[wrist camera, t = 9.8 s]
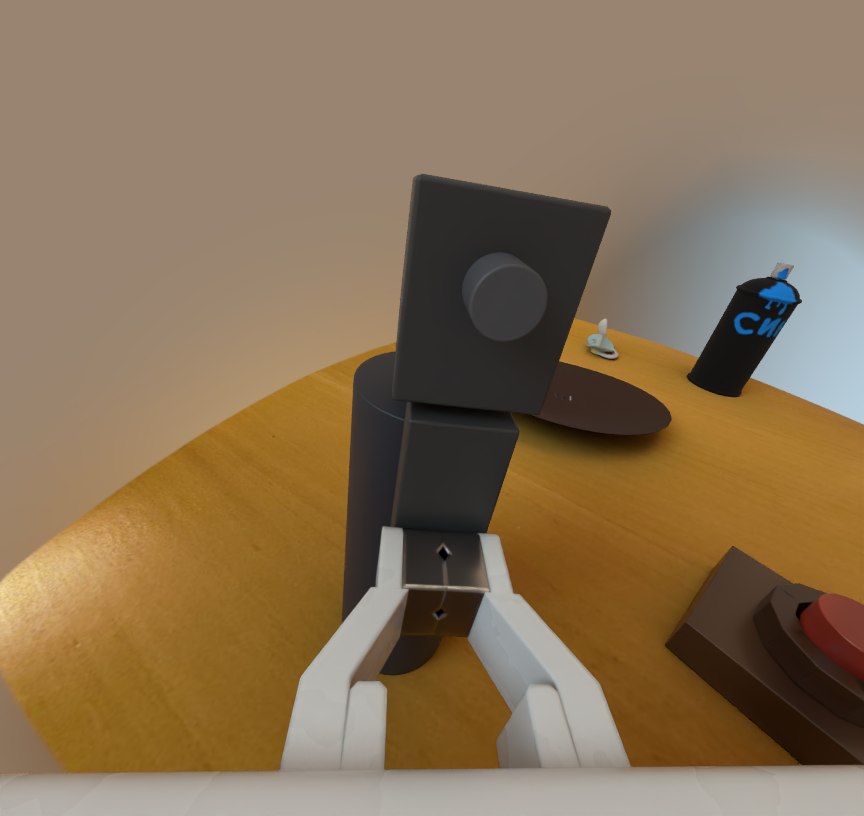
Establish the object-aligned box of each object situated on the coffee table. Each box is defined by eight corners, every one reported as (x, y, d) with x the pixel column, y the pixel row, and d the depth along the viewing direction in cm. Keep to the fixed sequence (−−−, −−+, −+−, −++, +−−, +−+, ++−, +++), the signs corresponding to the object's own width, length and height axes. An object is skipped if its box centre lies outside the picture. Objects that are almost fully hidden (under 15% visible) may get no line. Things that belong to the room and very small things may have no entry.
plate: (629, 376, 62) (638, 356, 60) (697, 489, 38) (717, 461, 36) (464, 340, 65) (468, 320, 63) (431, 424, 41) (436, 395, 39)
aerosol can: (679, 370, 68) (741, 255, 58) (726, 380, 68) (797, 265, 58) (698, 390, 61) (773, 263, 51) (750, 401, 61) (837, 274, 51)
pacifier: (616, 352, 73) (585, 342, 74) (631, 321, 69) (598, 312, 71) (617, 364, 67) (583, 354, 68) (633, 331, 63) (597, 321, 65)
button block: (934, 718, 22) (1005, 682, 20) (945, 888, 16) (1048, 864, 14) (713, 567, 30) (746, 528, 27) (664, 645, 23) (701, 604, 21)
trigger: (471, 581, 11) (521, 431, 8) (386, 577, 10) (409, 420, 8) (464, 535, 12) (505, 394, 9) (389, 530, 12) (409, 384, 9)
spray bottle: (454, 777, 17) (740, 229, 5) (317, 779, 16) (303, 151, 5) (439, 575, 25) (537, 198, 14) (349, 571, 25) (373, 169, 13)
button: (894, 655, 21) (919, 638, 20) (892, 706, 18) (921, 689, 17) (804, 597, 23) (824, 580, 22) (792, 636, 21) (813, 618, 20)
